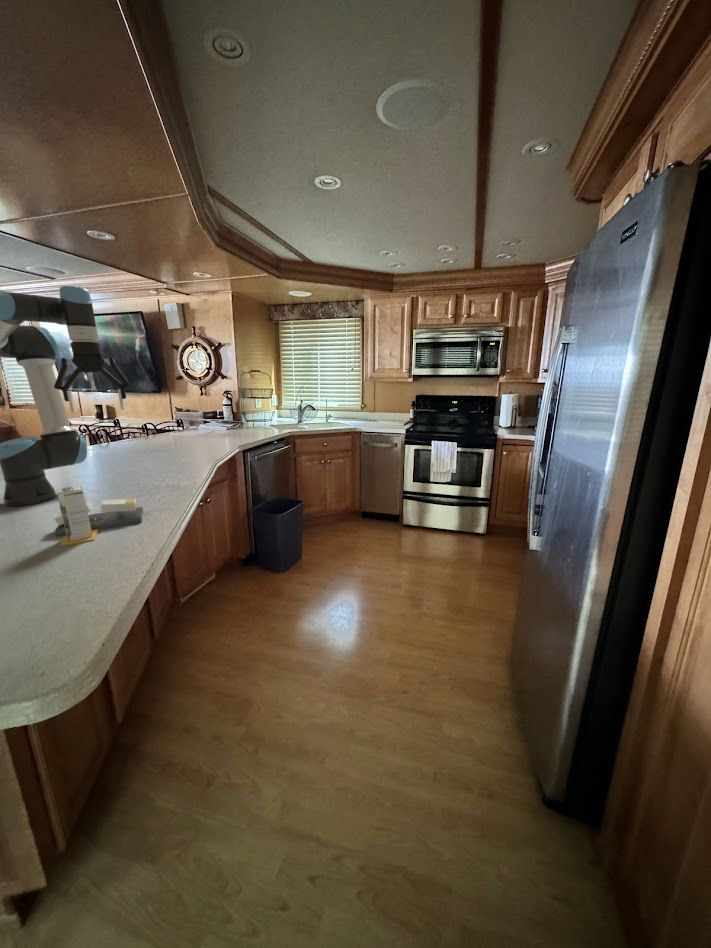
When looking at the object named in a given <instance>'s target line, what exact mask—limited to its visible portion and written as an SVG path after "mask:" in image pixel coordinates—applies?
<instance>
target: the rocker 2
mask: <svg viewBox="0 0 711 948" xmlns="http://www.w3.org/2000/svg"><path fill="white" fill-rule="evenodd" d="M100 505H101V506H100V508H101V509H100V510H101V512H100V513H105V512H116V511H135V509H136V508H137V499H136V498H126V499H123V498H122V499H121V498H120V499H103V500H102V502H101V504H100Z"/></svg>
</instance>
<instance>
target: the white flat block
mask: <svg viewBox="0 0 711 948" xmlns="http://www.w3.org/2000/svg"><path fill="white" fill-rule="evenodd" d="M85 502H86V507H87V512H88V513H90V512H91V511H92V510H93V508H94V504H93V503H92V502H91V500H90V499H87V500H85ZM53 519H54V521H55V522H56V523H57V526H58V525H59V526H60V525H62V524H64V522H63V518H62V514H61V512H59V513H58V514H56V516H55V517H54V518H53Z"/></svg>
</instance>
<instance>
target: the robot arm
mask: <svg viewBox="0 0 711 948" xmlns="http://www.w3.org/2000/svg"><path fill="white" fill-rule="evenodd" d="M24 322H35V323H38V322H39V323H49V324H50V323H51V324H57V325H62V326H63V325H66V328H67V332H68V333H67V334H68V337H69V338H68V339H69V341H72V342H70V347H71V352H72V358H66V357H62V358H60V359H61V360H60V361H61V367H60V368H59V372H58V374H57V377H56V375H55V371H54V368H53V366H54V365H55V364H56V359H58V357H59V354H60V352H59V346H58V344H57V341H56V339H55V337H54V335H53V333H52V331H51V332H50V330H48V328H46V327H42V326H35V325H22V324H23V323H24ZM99 340H100V338H99V332H98V327H97V323H96V318H95V312H94V307H93V300H92V297H91V294H90V291H89V290H88V289H87V288H85V287H83V286H82V287H81V286H75V285H62V286H60V287H59V297H55V296H54V297H53V296H47V295H46V296H45V295H44V296H43V295H35V294H29V293H19V292H12V291H4V290H0V358H3V359H4V358H7V359H10V358H11V359H15V360H16V364H17V365H19V366H21V367H22V368H23V369H24V372H25V374H26V375H25V376H26V378H27V382H28V385H29V388H30V391H31V395H32V398H33V401H34V404H35V407H36V412H37V414H38V417H39V421H40V423H41V426H42V431H41V432H40V434H39V437H40V439H37V438H36V437H35V436H26V437H19V438H14V439H9V440H6V441H4V442H1V443H0V469H1V472H2V477H3V479H4V482H5V485H4V486H5V487H4V492H3V502H4V506H6V507H23V506H28V505H29V506H30V505H36V504H39V503H43V502H47V501H50V500H52V499H54V498H56V497H57V492H56V489H55V488H54V487H53V485H52V484H51V482H50V481H49V479H47V477H46V473H45V470H51V469H56V468H63V467H67V466H74V465H77V464H81V463H83V462H84V461H85V460H86V458H87V455H88V444H87V441H86V439H85V437H84V435H82V434H79V433H78V432H77V430H76V429H75V428H73V427H72V426H71V424H70V422H69V418H68V415H67V410H66V408H65V404H64V401H65V402H68V403H69V407H70V408H69V409H70V411H71V413H75V412H77V410H76V405H75V400H74V395H73V390H70V388H71V386H72V385H73V384H74V383H75V381H76V380H77V379H78V377H79V376H80V375H81V374H82V373H85V374H89V373H101V374H103V375H104V376H105V377H106V378H107V379H108V380H110V381H111V382H112V383H114V385H115V386H117V387H118V389H117V390H116V391H117V394H118V400H119V404H120V410H122V411H123V410H125V403H124V400H126V399H127V393H126V388H129V387H131V383H130V382H129V380H128V379H127V378H126V376H125V375H124V373H123V372H122V371H121V370H120V369H119V367H118V366H117V364H116V361H115V358H113V357H109V358H104V357H103V353H102V348H101V344H100V342H98V341H99ZM72 363H73V364H74V365H75V367H76V368H75V369H74V371H73V372H72V374H71V375H70V377H69V378H68V379H67V381H66V382H64V380H65V377H66V375H67V372H68V369H69V367H70V366H71V365H72ZM105 364H107V365H108V366H111V368H112V370H113V371H114V372H115V373H116V375H117V376H118V378H120V380H121V381H122V382H123V383H121V381H119V380H118V379H117V378H116V377H114V375H113V374H111V373H110V372H109V371H108V370H106V368H105V367H104V366H105ZM63 382H64V384H63ZM60 391H61V392H62V394H63V399H64V401H63V399H62V394H61V392H60Z"/></svg>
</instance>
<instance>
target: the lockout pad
mask: <svg viewBox="0 0 711 948" xmlns="http://www.w3.org/2000/svg"><path fill="white" fill-rule="evenodd" d="M99 530H100V529H95V530H92V535H93V536H91V537H87V538H83V539H80V540H76V541H72V542H69V541H68V538H67V535H64V537H63V539H62V540H61V542H60V544H59V547H64V546H70V545H76V544H81V543H87V542H91V541H95V539H96V537H97V535H98V533H99Z"/></svg>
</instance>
